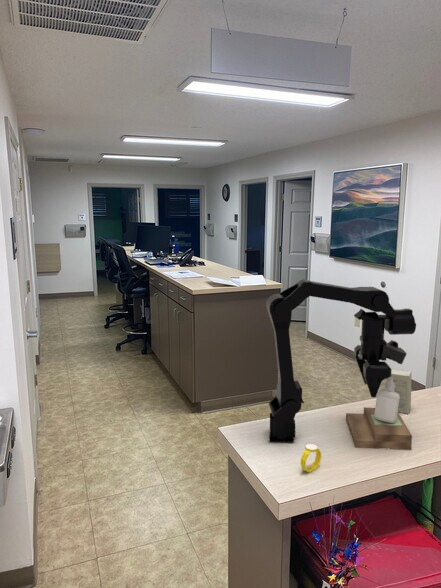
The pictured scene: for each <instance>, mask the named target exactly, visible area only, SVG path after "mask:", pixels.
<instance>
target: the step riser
mask: <svg viewBox="0 0 441 588" xmlns="http://www.w3.org/2000/svg"><path fill="white" fill-rule="evenodd" d="M374 413H375V407H365V406H364V407H363V413H353V412H352V413H351V412H349V413H347V412H346V413H345V421H346V424H347V428H348V431H349V433H350V436H351V440H352V443H353V445H354V448H359V449H360V448H361V449H379V448H386V450H388V449H387V448H390V449H389V450H403V451H405V450H407V451H411V450H412V443H413V441H412V440H413V435H412V433H411V432H410V430H409V428H408V425H406V423H405V421H404V420H403V418H402V416H401V415H400V412H397V418H396V421H395V423H388V422H384V421H381V420H378V419H376V418H375V417H374Z"/></svg>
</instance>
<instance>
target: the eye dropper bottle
mask: <svg viewBox="0 0 441 588" xmlns="http://www.w3.org/2000/svg"><path fill="white" fill-rule="evenodd" d="M394 389H395V383H394V382H393V378H391V377H390V379H389V381H388V380H386V381H385V383H384V388H382V389H379V390H378V392H377V395H376V400H375V407H374V408H375V413H374V417H375V418H376V419H378V420H381V421H384V422H388V423H395V421H396V418H397V412H398V406H399V399H400V396H399V394H398V393H396V392H395V391H394ZM398 413H399V412H398Z"/></svg>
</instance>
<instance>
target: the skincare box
mask: <svg viewBox="0 0 441 588" xmlns="http://www.w3.org/2000/svg"><path fill="white" fill-rule="evenodd" d="M391 369H392V370H391V378H393V382H394V383H395V389H394V391H395V392H396V393H398V394H399V396H400V399H399V406H398V413H399V414H400V413H402V414H407V415H409V413H410V411H411V409H412V371H408V370H400V369H393V368H391ZM389 379H390V377H389V378H387V381H389Z"/></svg>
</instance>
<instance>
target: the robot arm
mask: <svg viewBox="0 0 441 588" xmlns="http://www.w3.org/2000/svg"><path fill="white" fill-rule="evenodd" d="M309 297H312V298H313V297H314V298H318V299H326V300H332V301H338V302H343V303H349V304H354V305H356V306H359V307H361V308H360V309H359V310H358V311H357V312H356V313H354V315H353V317H354V318H356V319H357V320H360V321H361V335H359V341H360V345H359V344H357V345H356V346H355V347H354V349H353V356H355V358H354V359H355V361H356V364H357V366H358V369H359V371H360V375H361V377H362V380H363V383H364V385H366V386H367V388H368V391H369V395H370V397H371V398H377V394H378V391H379V390H380V387H381V384H382V382H383V381H385V380H386V379H387V380H388V378H389V377H391V370H392V369H393V368H391V367H390V365H389V364H388V363H387V362H386V361H387V359H388V360H389V361H390V360H391V361H394V362H396V363H397V364H400V365H402V364H403V363H404V361H405V358H406V357H407V352H406V351H405V350H404V349H403V348H402V347H399V343H398V342H397V341H396V340H393V339H391V340H390V341H388V342H387V341H386V340H385V331H386V332H387V333H388V334H389V335H390V336H391V335H392V336H393V335H395V336H396V335H413V334H414V333H415V332H416V328H417V323H416V319H415V316H414V314H413V312H414V311H413V309H412V308H402V309H398V308H397V309H394V307H393V305H392V304H390V297H389V295H388V293H387V292H386V291H385V290H382V289H379V288H377V287H374V286H357V287H349V286H342V285H337V284H336V285H335V284H330V283H324V282H319V281H314V280H313V281H312V280H308V279H306V278H304V279H301V280H299V281H298V282H296V283H295V284H293V285H292V286H290V287H287V288H285V289H284V290H283V291H281V292H280V293H274V294H272V295H270V296H269V297H268V299H267V300H266V310H267V313H268V316H269V319H270V322H271V325H272V329H273V335H274V336H273V337H274V344H275V354H276V355H275V356H276V363H277V373H278V380H277V385H276V394H275V395H276V396H275V397H273V398H272V400H270V401H269V402H268V407H269V408H270V413H269V438H268V440H269V442H270V443H271V442H272V443H290V444H291V443H294V442H295V441H294V439H295V438H296V419H295V417H296V415H297V414H298V413H299V412H300V411H302V410H301V409H302V404H304V403H305V402H304V400H303V388H302V385H301V384H300V383H299V381H298V380H295V379H294V378H295V377H294V367H293V357H292V347H291V337H290V326H291V322H292V316H293V315H292V313H293V310H295V309H296V308H298V307H299V306H300V305H301V304H302V303H303V302H304V301H305V300H306V299H308V298H309ZM362 308H363V309H362ZM364 309H366V310H369V311H366V310H364ZM378 313H382V314H378Z"/></svg>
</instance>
